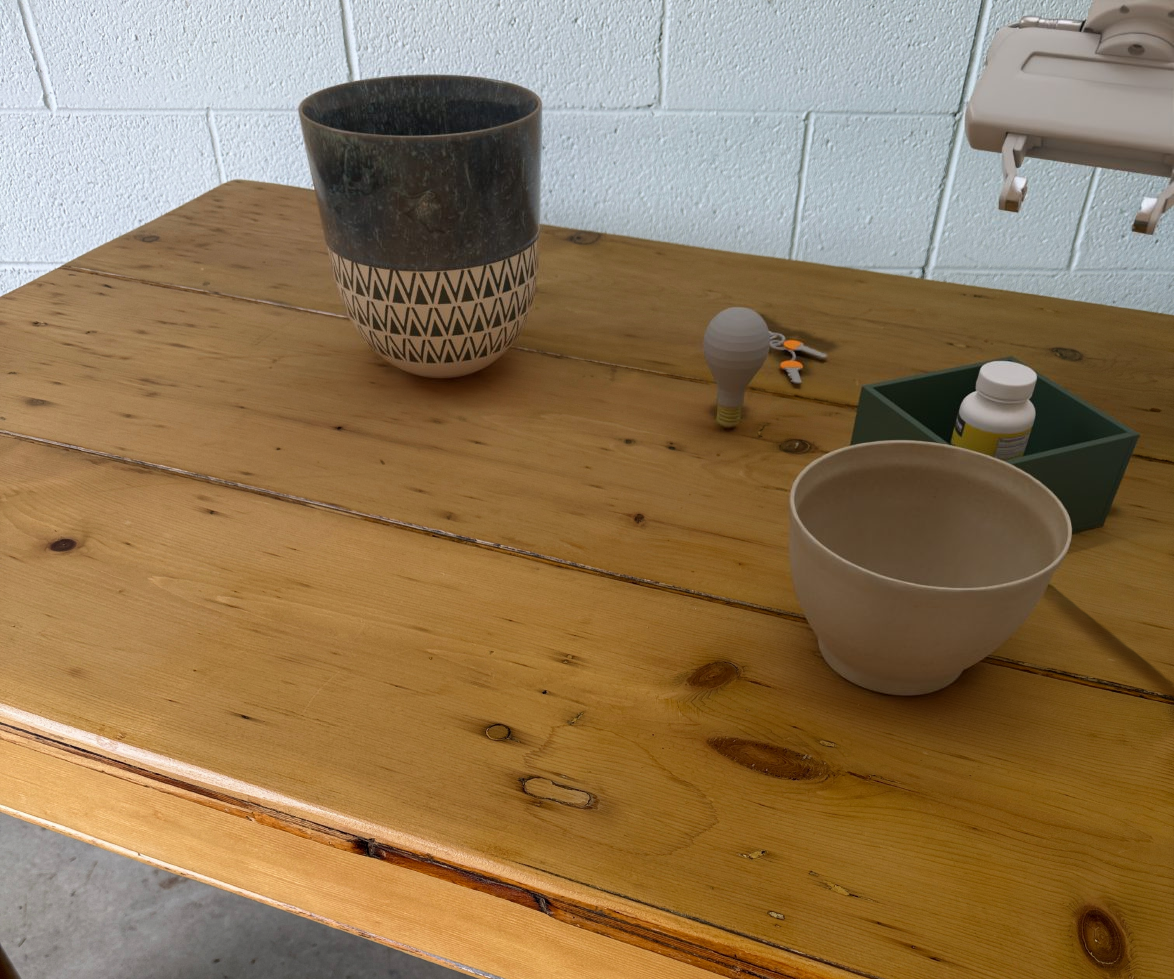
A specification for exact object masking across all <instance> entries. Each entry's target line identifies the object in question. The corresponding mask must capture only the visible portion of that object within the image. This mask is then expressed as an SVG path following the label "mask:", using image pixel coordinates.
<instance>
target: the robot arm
mask: <svg viewBox="0 0 1174 979" xmlns="http://www.w3.org/2000/svg"><path fill="white" fill-rule="evenodd" d="M984 63H985V68H984V69H983V72H982V74H981V76H980V78H979V79H978V81H977V83H976V85H975V87H974V89H973V92H972V93H971V96H970V97H969V101H968V102H967V106H966V108H965V113H964V134H965V138H966V140H967V142H968V144H969V146H970V148H971V149H972V150H977V151H983V152H991V153H997V154H1001V170H1002V175H1003V181H1004V185H1003V187H1002V189H1001V191H1000V194H999V198H998V210H999V211H1005V212H1011V213H1017V214H1019V213H1020V211H1021V209H1022V203H1023V202H1024V201H1025V198H1026V196H1027V193H1028V184H1029V182H1028V181H1029V178H1028V177H1024V176H1018V173H1017V169H1019V168H1021V167H1022V165H1023V162H1024V160H1025V158H1030V159H1038V160H1039V159H1040V160H1046V161H1052V162H1057V163H1058V162H1059V163H1066V164H1072V165H1079V166H1085V167H1093V168H1100V169H1106V170H1111V171H1121V172H1127V173H1133V174H1139V175H1140V174H1141V175H1147V176H1154V177H1161V178H1169V182H1168V185H1167V187H1166V188H1164V189H1163V190H1162V192H1160V193H1159V194H1158V195H1157V196H1156V197H1155V196H1149V195H1148V196H1147V195H1144V196H1143V197H1142V200H1141V203H1140V205H1139V208H1138V211H1137V212H1136V215H1135V217H1134V221H1133V224H1132V227H1131V232H1132V233H1138V234H1143V235H1148V236H1149V235H1150V236H1154V235H1155V232H1156V230H1157V227H1158V225H1159V221H1160V220H1161V218H1162V214H1165V213H1167V212H1168V211H1169V210H1170V209H1171V208H1173V207H1174V0H1093V1H1092V4H1091V6H1090V8H1089V11H1088V14H1087V17H1086V18H1085V19H1084V20H1083V19H1082V20H1081V19H1073V18H1047V17H1042V16H1039V15H1022V17H1021V18H1020V20H1016V21H1012V22H1009V23H1008V24H1007V23H1006V25H1004V26H1002V27H1000V28H999V29H998V30H997V31H996V33H995V35H994V37H993V38H992V41H991V44H990V46H989V48H988V52H986V57H985V62H984Z"/></svg>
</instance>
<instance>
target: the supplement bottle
mask: <svg viewBox="0 0 1174 979" xmlns="http://www.w3.org/2000/svg"><path fill="white" fill-rule="evenodd" d="M1027 366H1028V365H1027ZM1027 366H1024V365H1022V364H1019V363H1015V362H1008V361H994V362H990V363H987V364H985V365H983V366H982V367H981V369H980V372H979V376H978V379H977V382H976V391H975V392H973V393H971V394H969V395H968V396H967V397H966V398H965V399H964V400H963V402H962V404H961V406H960V409H959V412H958V416H957V420H956V423H955V427H954V431H953V435H952V439H951V442H950V445H951V446H955V447H960V448H964V449H968V450H971V451H975V452H978V453H982V454H985V455H988V456H991V457H994V458H997V459H999V460H1002V461H1006V460H1010V459H1014V458H1019V457H1023V454H1024V451H1025V448H1026V445H1027V442H1028V438H1029V435H1030V432H1031V429H1032V426H1033V423H1034V419H1035V408H1034V406H1033V404H1032V403H1031V401H1030V400H1028V399H1030V398H1031V396H1032V393H1033V390H1034V387H1035V383H1036V380H1037V375H1036V373H1035V372H1034V371H1033V370H1032V369H1033V368H1032V367H1031V368H1032V369H1031V368H1029V367H1030V366H1029V367H1027Z"/></svg>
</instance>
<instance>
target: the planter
mask: <svg viewBox="0 0 1174 979" xmlns="http://www.w3.org/2000/svg"><path fill="white" fill-rule="evenodd" d="M297 112H298V118H299V124H300V129H301V135H302V140H303V144H304V149H305V154H306V157H307V163H308V167H309V171H310V175H311V176H310V177H311V180H312V184H313V189H314V194H315V199H316V204H317V208H318V213H319V219H320V224H321V227H322V232H323V237H324V241H325V245H326V249H327V255H328V259H329V264H330V268H331V272H332V276H333V279H334V284H335V288H336V290H337V293H338V296H339V299H340V301H341V304H342V306H343V308H344V310H345V313H346V314H347V318H348V319H349V321H350V323H351V325H352V326H353V328H354V330H355V331H356V333H357V335H359V336H360V338H361V339H362V341H364V342H365V344H366V345H367V346H368V347H369V348H370V349H371V350H372V351H373V352H375V353H376V354H377V355H378V356H380V357H381V358H382V359H384V360H385V361H386V362H388V363H389V364H391V365H392V366H394V367H396V368H397V369H400V370H402V371H404V372H406V373H409V374H411V375H415V376H419V377H423V378H428V379H429V378H430V379H452V378H460V377H464V376H468V375H472V374H474V373H477V372H479V371H481V370H483V369H485V368H486V367H488V366H490V365H491V364H493V363H495V361H497V360H498V359H499V358H500V357H502V356H503V355H504V354H505V353H506V352H507V351H508V350H509V349H510V348H511V347H512V345H513V344H514V343H515V342H516V341H517V339H518V337H519V336H520V335H521V333H522V332H523V330H524V328H525V326H526V324H527V321H528V319H529V317H530V313H531V310H532V307H533V303H534V300H535V294H536V289H537V283H538V277H539V266H540V263H539V262H540V258H539V257H540V232H541V231H540V230H541V193H542V191H541V188H542V186H541V184H542V156H543V155H542V153H543V102H542V99H541V97H540V96H539V95H538V94H537V93H536V92H534V91H533V90H532V89H529V88H527V87H526V86H525V87H524V86H522V85H520V84H516V83H512V82H509V81H505V80H500V79H494V78H487V77H481V76H473V75H472V76H471V75H461V74H460V75H459V74H434V73H433V74H432V73H431V74H429V73H428V74H404V75H403V74H401V75H388V76H379V77H371V78H364V79H357V80H353V81H348V82H343V83H339V84H335V85H332V86H329V87H328V86H327V87H325V88H322V89H321V90H318V91H315V92H313V93H311V94H310V95H308V96H307V97H305V98H304V99H302V101H301V102H300V103H299V105H298V107H297Z"/></svg>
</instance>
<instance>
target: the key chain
mask: <svg viewBox="0 0 1174 979" xmlns="http://www.w3.org/2000/svg"><path fill="white" fill-rule="evenodd" d="M769 335H770V348H771V349H773V350H775V351H781V352H782V351H783V352H784V351H787V352H789V353H790V354H791V355H792V358H791V359H789V360H784V361H782V362H780V365H779V366H780V367H779V368H780V369H781V370H783V371H786V373H787V376H788V377H789V379H791V380H790V382H791V383H793V384H796V385H801V384H803V380H802V378H801V376H800V373H799V371H801V370H803V364H802V363H801V362H799V361H796V358H797V355H796V353H795V352H802V353H803V352H804V353H806V354H808V355H811V356H814V357H817V358H820V359H822V360H823V359H824V360H825V359H827V358H828V354H827V353H823V352H820V350H817V349H816V348H815V349H814V348H810V347H808V346H807V345H806V346H805V343H803V342H802V341H799V340H793V339H789V340H788V339H787V340H786V336H785V335H783V334H782V333H779V332H772V331H771V330H769ZM778 338H780V339H781V340H778ZM781 346H783V347H781Z"/></svg>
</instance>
